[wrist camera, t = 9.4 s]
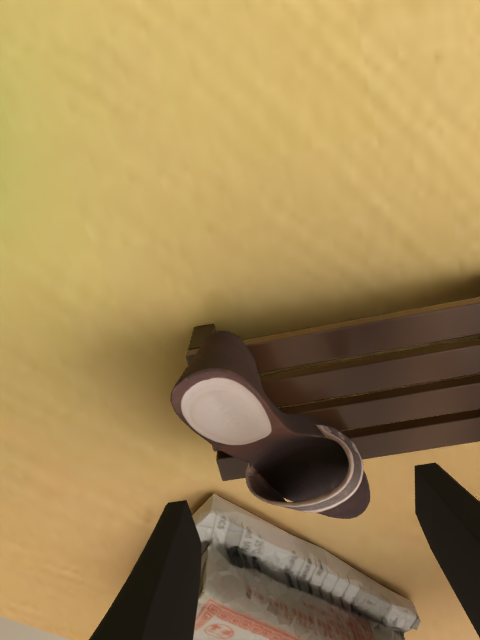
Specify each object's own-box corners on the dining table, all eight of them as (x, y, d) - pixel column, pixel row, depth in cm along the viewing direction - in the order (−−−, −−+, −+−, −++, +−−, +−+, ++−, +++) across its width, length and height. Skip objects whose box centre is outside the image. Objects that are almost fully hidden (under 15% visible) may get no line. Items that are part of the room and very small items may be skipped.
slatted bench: (512, 266, 16) (569, 286, 13) (500, 393, 19) (545, 431, 16) (193, 326, 17) (185, 356, 15) (224, 438, 20) (222, 481, 17)
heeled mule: (299, 511, 18) (314, 594, 14) (154, 356, 15) (127, 416, 11) (378, 471, 17) (415, 550, 13) (242, 294, 14) (244, 338, 10)
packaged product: (454, 687, 21) (339, 749, 24) (416, 597, 26) (323, 658, 29) (205, 569, 17) (103, 662, 20) (212, 486, 21) (128, 572, 24)
